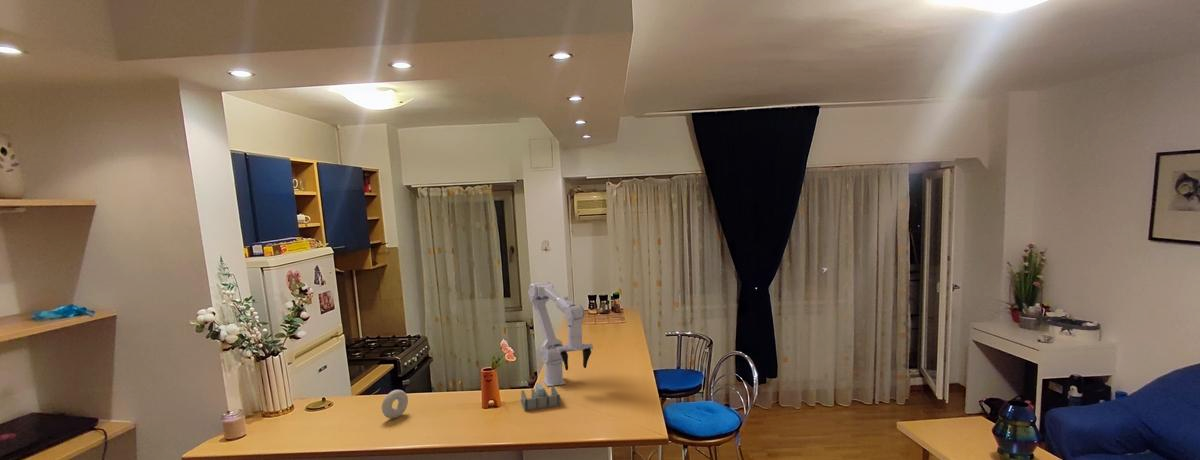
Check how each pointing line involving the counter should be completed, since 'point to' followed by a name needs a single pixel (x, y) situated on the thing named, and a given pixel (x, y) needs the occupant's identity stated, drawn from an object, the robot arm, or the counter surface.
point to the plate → (539, 390)
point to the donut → (388, 402)
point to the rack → (540, 400)
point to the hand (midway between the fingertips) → (575, 368)
